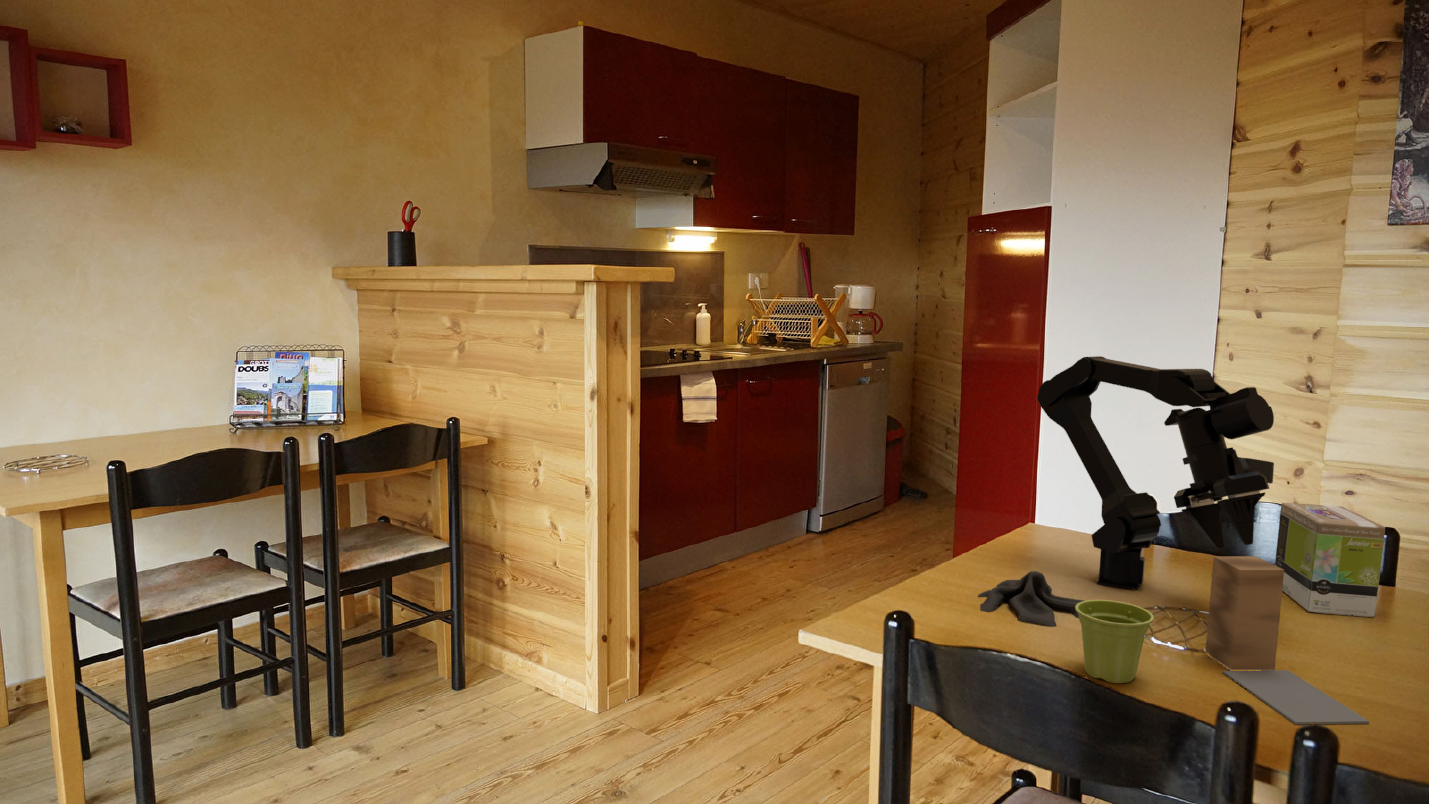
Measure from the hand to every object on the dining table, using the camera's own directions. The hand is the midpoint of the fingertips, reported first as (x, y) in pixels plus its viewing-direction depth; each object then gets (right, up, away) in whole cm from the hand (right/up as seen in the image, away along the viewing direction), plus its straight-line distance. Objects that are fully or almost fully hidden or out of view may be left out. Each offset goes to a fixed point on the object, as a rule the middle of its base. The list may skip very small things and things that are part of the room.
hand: (1234, 546), depth 142 cm
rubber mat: (-7, -15, -25) cm, 30 cm away
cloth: (-30, -11, +7) cm, 32 cm away
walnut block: (-7, -14, -14) cm, 21 cm away
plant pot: (-27, -14, -19) cm, 36 cm away
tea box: (+21, -11, +12) cm, 26 cm away
